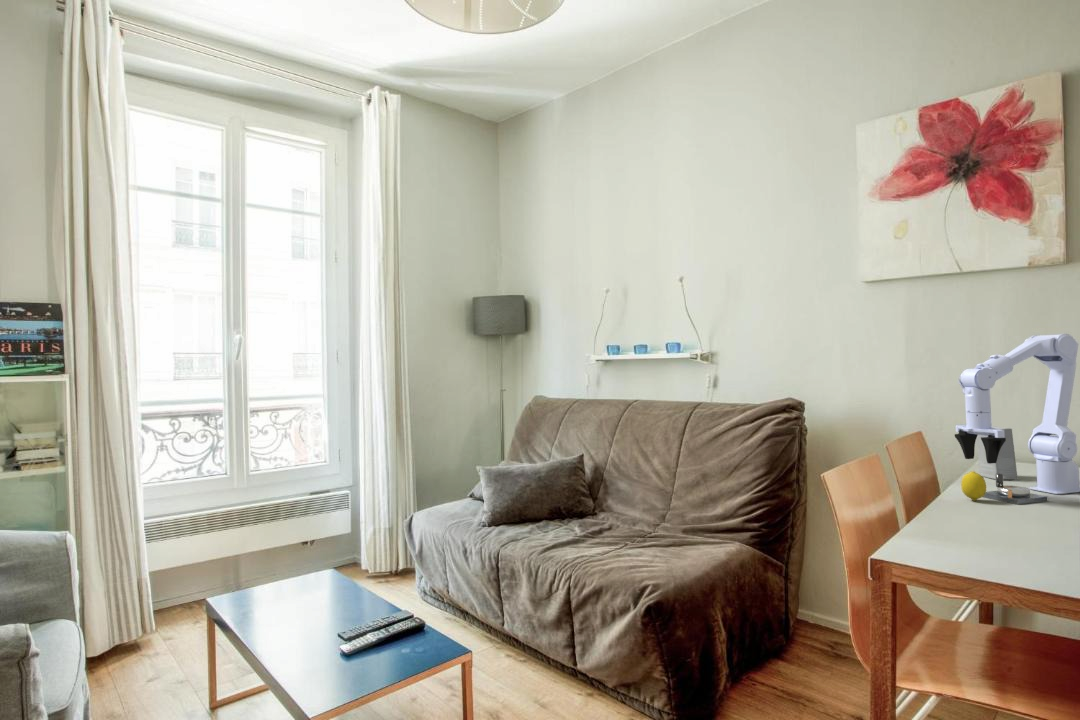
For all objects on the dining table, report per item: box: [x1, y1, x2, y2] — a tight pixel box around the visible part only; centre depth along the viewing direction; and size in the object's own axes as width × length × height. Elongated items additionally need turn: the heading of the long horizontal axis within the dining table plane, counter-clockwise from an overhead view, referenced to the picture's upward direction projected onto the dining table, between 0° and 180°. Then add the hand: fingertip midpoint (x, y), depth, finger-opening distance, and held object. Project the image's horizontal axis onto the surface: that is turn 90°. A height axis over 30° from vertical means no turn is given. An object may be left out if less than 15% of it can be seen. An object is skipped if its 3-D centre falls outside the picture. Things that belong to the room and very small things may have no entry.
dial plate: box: [982, 490, 1048, 506], centre depth 166 cm, size 10×10×3 cm
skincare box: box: [975, 426, 1018, 481], centre depth 193 cm, size 8×7×16 cm
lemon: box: [960, 470, 987, 502], centre depth 165 cm, size 6×6×8 cm
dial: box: [995, 473, 1031, 497], centre depth 166 cm, size 7×7×5 cm
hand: (980, 460), depth 170 cm, fingers open, 7 cm apart
